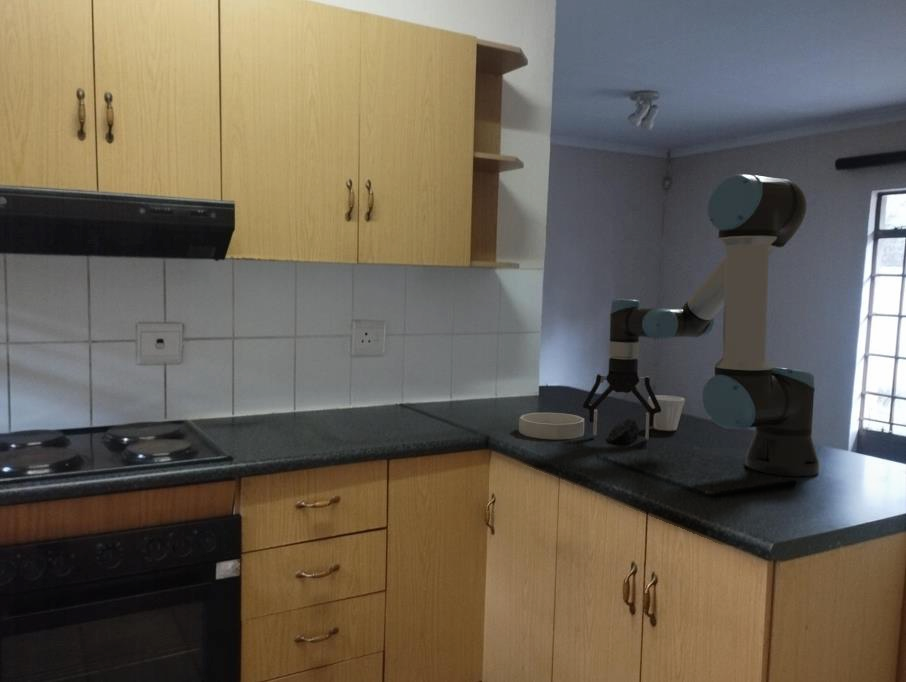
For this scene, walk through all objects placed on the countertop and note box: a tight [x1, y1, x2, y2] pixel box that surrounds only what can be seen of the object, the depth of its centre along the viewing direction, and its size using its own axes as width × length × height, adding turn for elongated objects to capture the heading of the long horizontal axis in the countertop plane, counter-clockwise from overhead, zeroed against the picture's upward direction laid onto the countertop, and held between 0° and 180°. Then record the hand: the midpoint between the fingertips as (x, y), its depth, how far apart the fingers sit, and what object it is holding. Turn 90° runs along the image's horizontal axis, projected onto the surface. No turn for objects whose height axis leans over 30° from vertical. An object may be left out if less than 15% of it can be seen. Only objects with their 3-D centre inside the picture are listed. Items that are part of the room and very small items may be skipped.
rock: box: [606, 418, 639, 446], centre depth 189 cm, size 7×10×6 cm
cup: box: [647, 394, 685, 433], centre depth 204 cm, size 10×10×9 cm
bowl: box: [518, 411, 585, 440], centre depth 199 cm, size 18×18×4 cm
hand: (620, 436), depth 191 cm, fingers open, 13 cm apart
